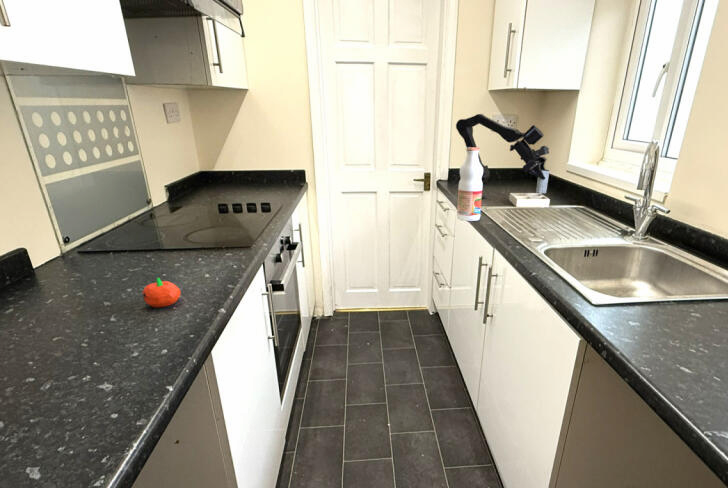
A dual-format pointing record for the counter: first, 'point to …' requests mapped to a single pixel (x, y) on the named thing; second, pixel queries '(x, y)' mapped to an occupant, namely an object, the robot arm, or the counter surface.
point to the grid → (529, 200)
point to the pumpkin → (161, 293)
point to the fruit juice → (470, 187)
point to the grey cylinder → (542, 182)
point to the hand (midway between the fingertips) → (546, 178)
